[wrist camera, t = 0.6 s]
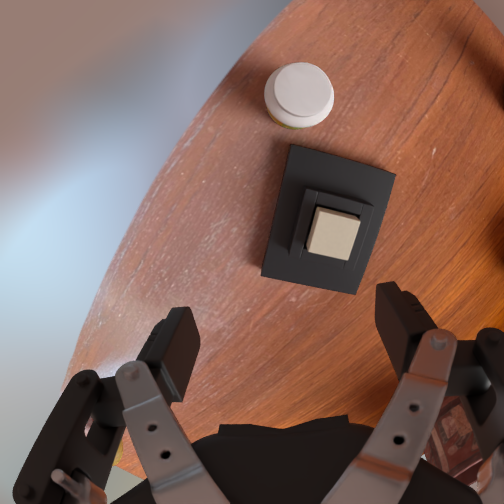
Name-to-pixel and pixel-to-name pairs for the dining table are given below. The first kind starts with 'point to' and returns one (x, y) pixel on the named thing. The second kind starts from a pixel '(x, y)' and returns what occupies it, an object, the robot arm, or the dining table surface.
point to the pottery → (454, 443)
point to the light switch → (330, 197)
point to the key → (332, 233)
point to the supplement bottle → (298, 95)
